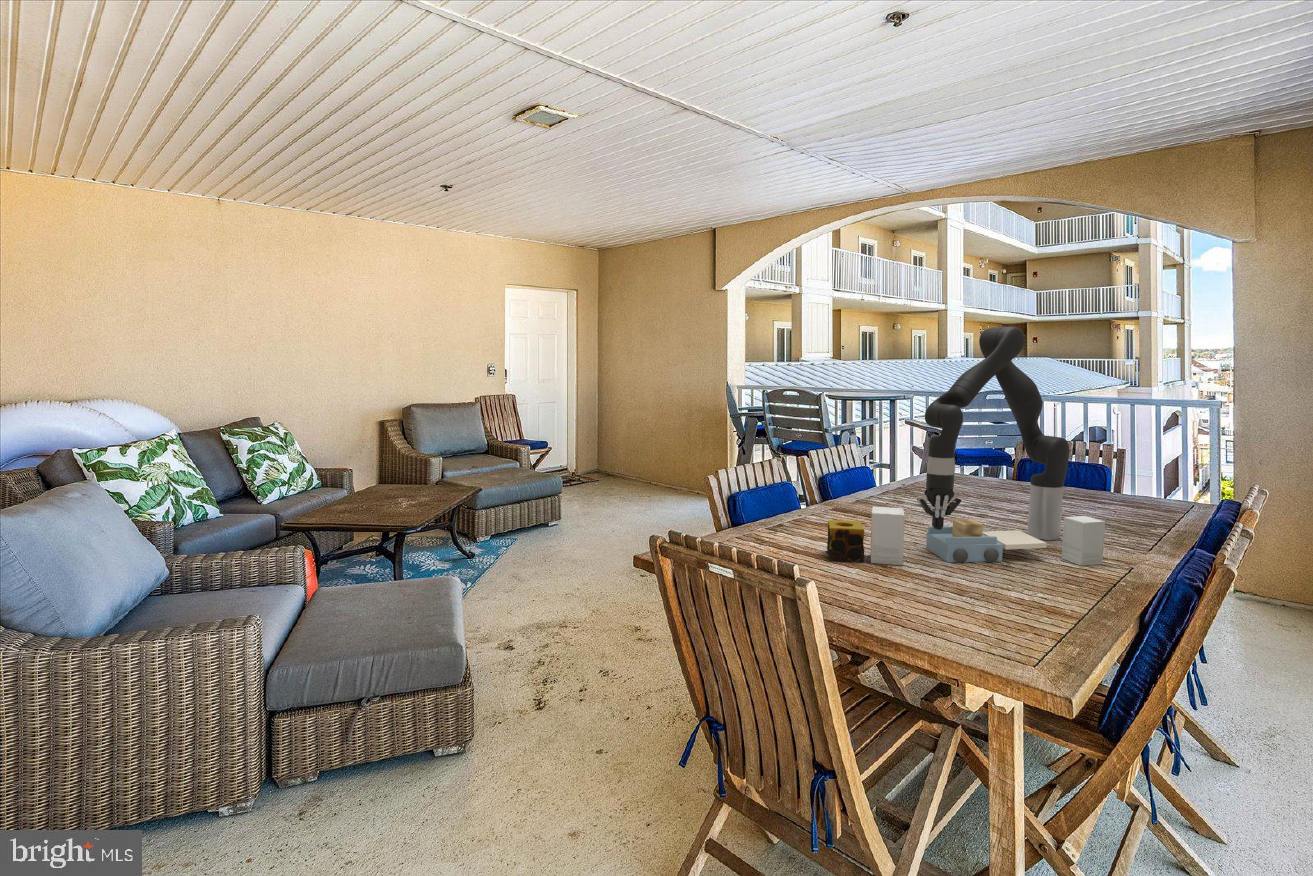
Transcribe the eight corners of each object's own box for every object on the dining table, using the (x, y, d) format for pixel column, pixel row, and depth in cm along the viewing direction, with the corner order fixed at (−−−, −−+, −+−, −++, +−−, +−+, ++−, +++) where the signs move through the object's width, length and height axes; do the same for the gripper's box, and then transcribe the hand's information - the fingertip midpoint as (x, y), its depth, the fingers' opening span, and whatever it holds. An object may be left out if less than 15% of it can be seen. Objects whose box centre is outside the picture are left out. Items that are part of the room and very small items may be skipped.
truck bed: (975, 546, 205) (976, 524, 204) (1003, 562, 189) (1004, 538, 188) (925, 547, 204) (926, 525, 203) (948, 563, 189) (950, 539, 188)
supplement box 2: (1103, 564, 186) (1106, 521, 185) (1080, 566, 185) (1083, 522, 184) (1082, 557, 194) (1085, 515, 192) (1060, 558, 192) (1063, 516, 191)
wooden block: (971, 535, 199) (972, 519, 198) (981, 540, 193) (982, 524, 193) (952, 535, 199) (952, 519, 198) (961, 541, 193) (962, 524, 192)
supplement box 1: (902, 557, 195) (904, 507, 193) (903, 566, 186) (905, 514, 184) (870, 554, 197) (872, 505, 196) (869, 563, 189) (871, 512, 187)
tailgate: (980, 536, 203) (1018, 534, 204) (1005, 549, 189) (1046, 547, 190) (980, 531, 203) (1018, 530, 204) (1005, 544, 189) (1046, 543, 190)
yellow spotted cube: (864, 563, 189) (865, 529, 188) (828, 561, 191) (829, 528, 190) (860, 552, 199) (861, 520, 198) (826, 551, 201) (827, 519, 200)
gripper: (956, 469, 197) (952, 525, 199) (913, 469, 197) (910, 526, 199) (969, 473, 190) (965, 532, 192) (924, 474, 189) (921, 532, 191)
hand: (937, 529), depth 195 cm, fingers closed
